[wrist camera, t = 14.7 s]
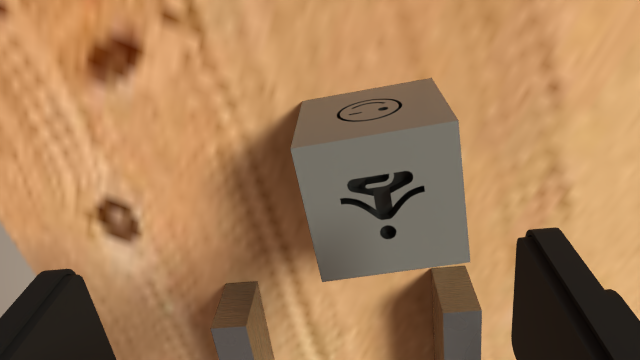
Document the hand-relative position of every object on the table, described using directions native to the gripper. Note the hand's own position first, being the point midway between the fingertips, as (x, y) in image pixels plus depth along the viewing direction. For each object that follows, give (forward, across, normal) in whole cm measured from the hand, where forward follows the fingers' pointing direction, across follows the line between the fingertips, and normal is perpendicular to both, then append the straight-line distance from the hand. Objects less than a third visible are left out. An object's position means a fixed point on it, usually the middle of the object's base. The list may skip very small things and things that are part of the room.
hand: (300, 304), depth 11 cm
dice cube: (+11, -2, +1) cm, 11 cm away
